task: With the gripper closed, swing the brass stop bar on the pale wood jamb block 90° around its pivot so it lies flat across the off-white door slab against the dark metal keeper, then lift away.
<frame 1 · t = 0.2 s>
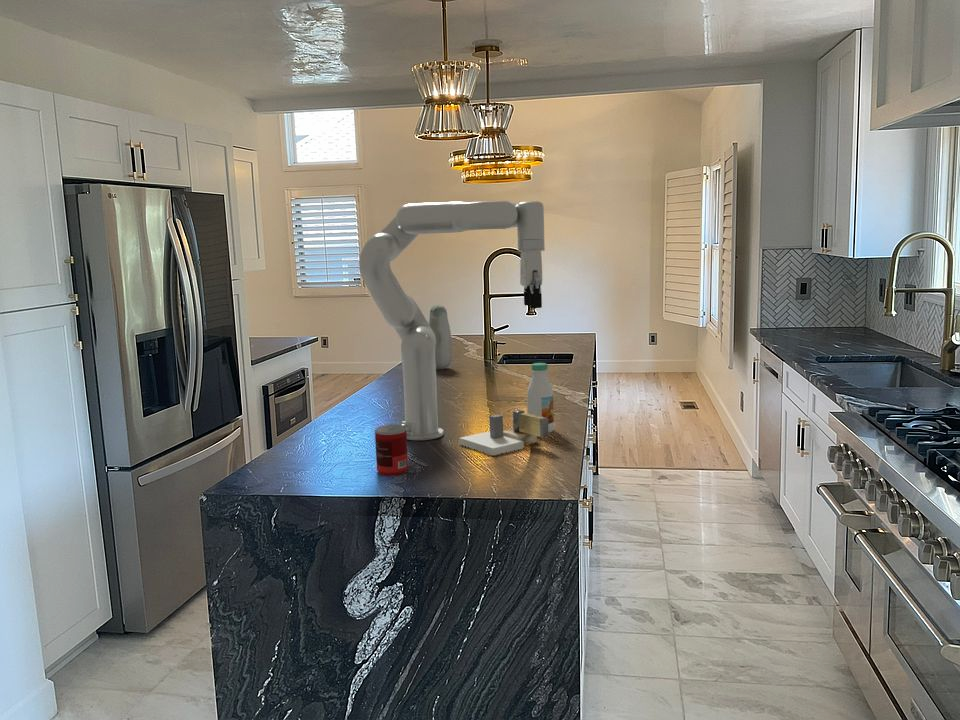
hand: (532, 306, 226), 37 cm above the countertop, tool pointing down, fingers open, 9 cm apart
jamb block: (519, 442, 221), on the countertop
milk bottle: (540, 431, 233), on the countertop
canned food: (392, 472, 197), on the countertop
stop bar: (529, 423, 217), point 6 cm above the countertop, hinge at 0.0°
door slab: (491, 446, 217), on the countertop
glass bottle: (440, 369, 346), on the countertop
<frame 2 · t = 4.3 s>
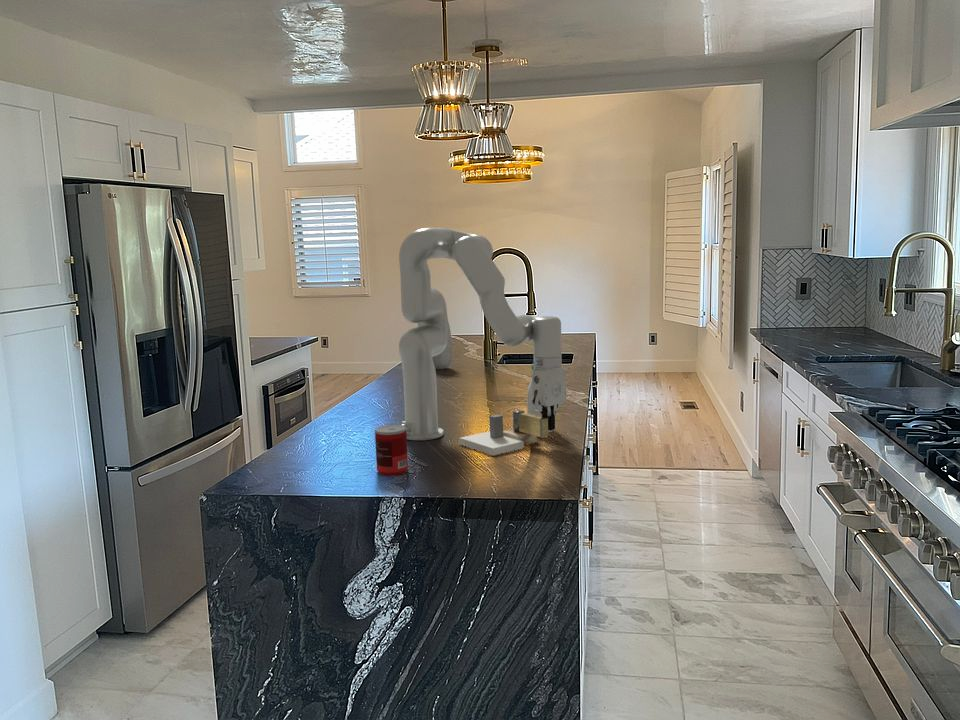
hand: (548, 429, 216), 5 cm above the countertop, tool pointing down, fingers closed
stop bar: (529, 423, 217), point 6 cm above the countertop, hinge at 0.2°, touching gripper
everything else where it was.
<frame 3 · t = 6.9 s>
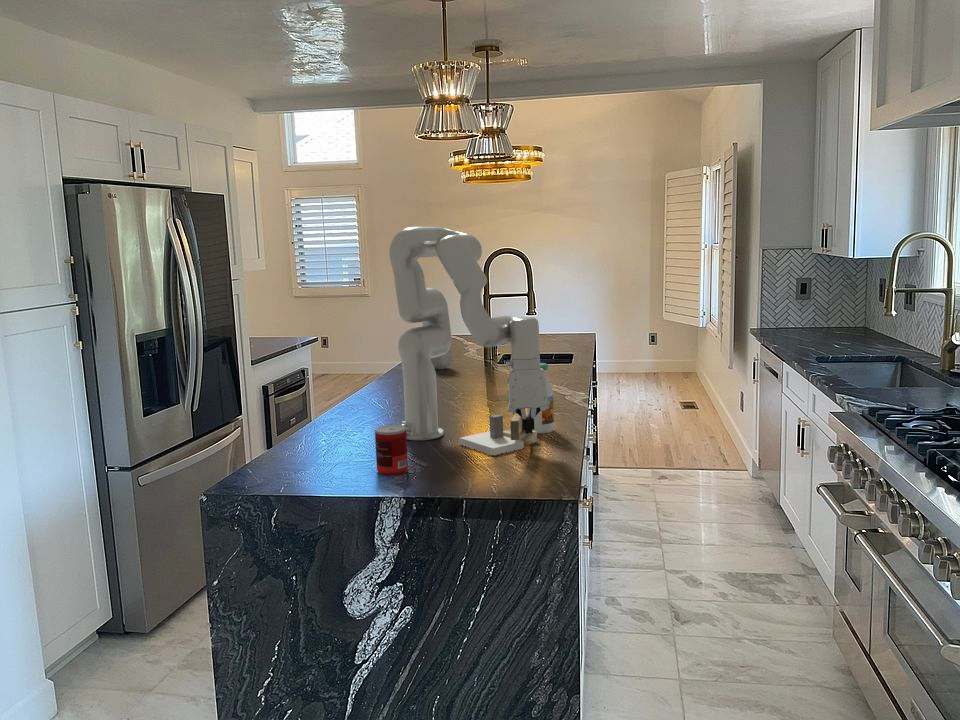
hand: (528, 432, 211), 5 cm above the countertop, tool pointing down, fingers closed
stop bar: (517, 425, 216), point 6 cm above the countertop, hinge at 45.8°, touching gripper
everything else where it was.
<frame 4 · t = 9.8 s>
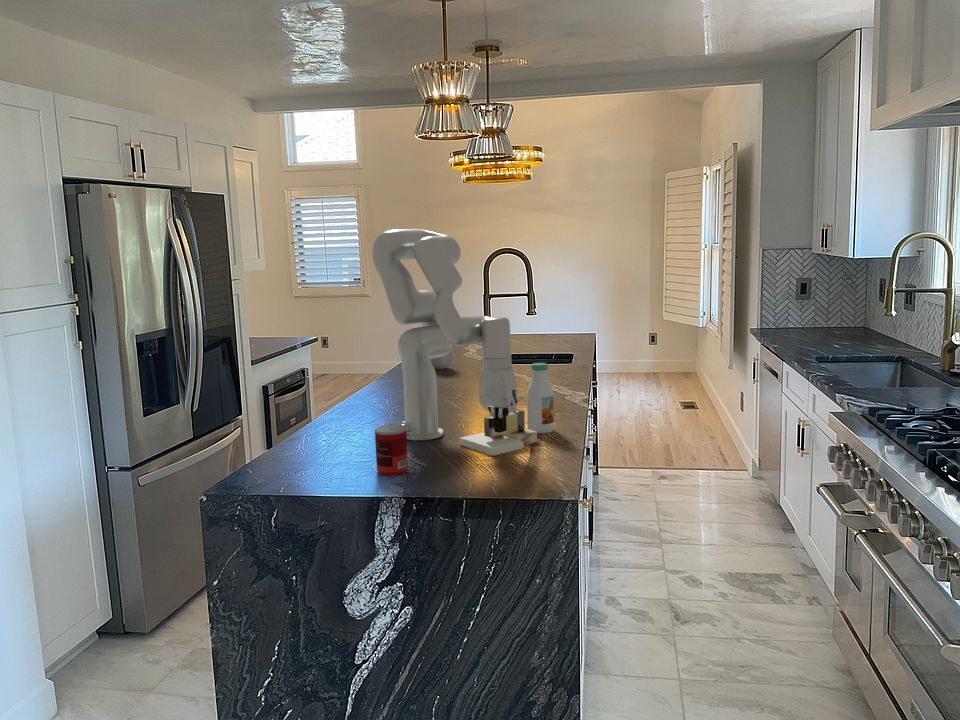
hand: (500, 431, 213), 5 cm above the countertop, tool pointing down, fingers closed
stop bar: (505, 423, 218), point 6 cm above the countertop, hinge at 92.3°, touching gripper
everything else where it was.
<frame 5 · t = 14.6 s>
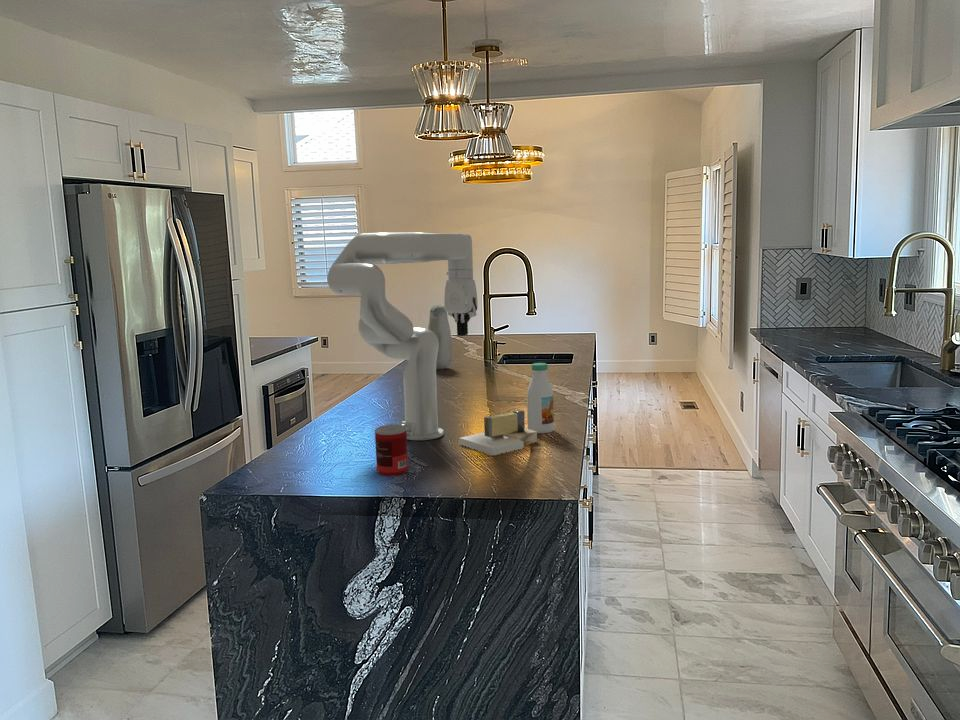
hand: (462, 335, 244), 27 cm above the countertop, tool pointing down, fingers closed
stop bar: (505, 423, 218), point 6 cm above the countertop, hinge at 92.1°
everything else where it was.
at the end: stop bar at +92° (first picture: +0°); milk bottle moved 0.2 cm from its start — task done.
